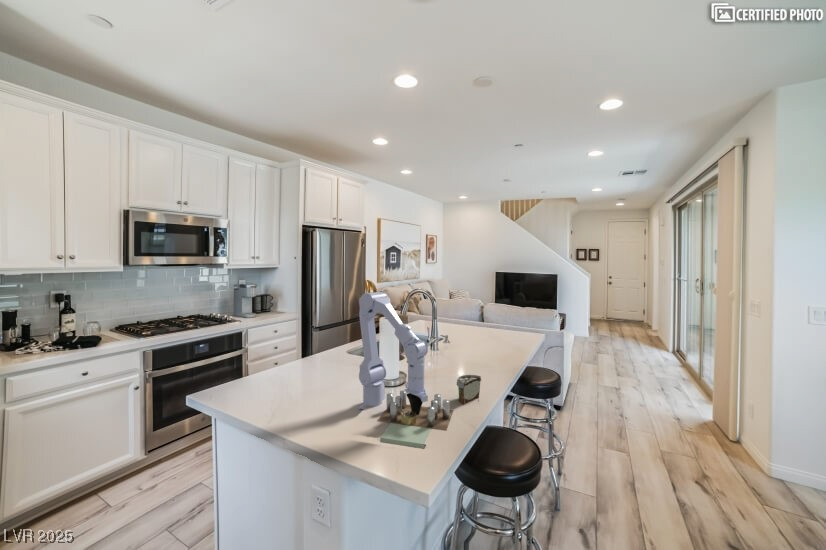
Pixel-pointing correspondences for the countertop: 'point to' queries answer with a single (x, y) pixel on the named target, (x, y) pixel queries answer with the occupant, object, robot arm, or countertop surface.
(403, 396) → the spacers
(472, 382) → the food container
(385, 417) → the board
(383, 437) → the pad
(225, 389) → the countertop surface
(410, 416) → the nut
